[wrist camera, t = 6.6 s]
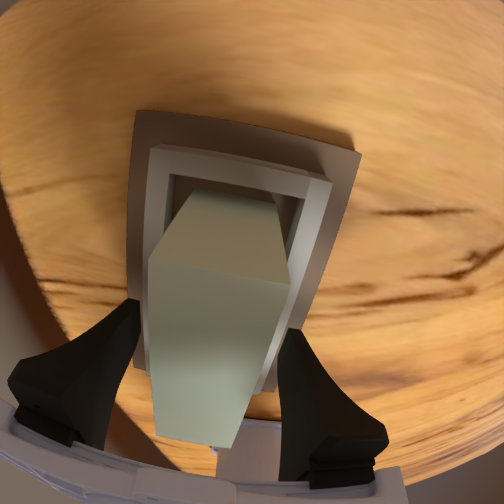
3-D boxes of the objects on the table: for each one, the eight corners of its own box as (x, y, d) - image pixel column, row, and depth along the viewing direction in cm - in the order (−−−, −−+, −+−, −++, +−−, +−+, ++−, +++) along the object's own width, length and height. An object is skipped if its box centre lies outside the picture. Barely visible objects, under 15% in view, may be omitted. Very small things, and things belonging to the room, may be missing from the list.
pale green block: (236, 357, 19) (230, 448, 13) (178, 347, 19) (156, 435, 13) (275, 203, 14) (290, 284, 8) (194, 187, 14) (148, 258, 8)
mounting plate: (273, 382, 22) (274, 407, 20) (137, 358, 21) (128, 381, 19) (355, 151, 14) (373, 160, 12) (143, 109, 13) (123, 111, 11)
